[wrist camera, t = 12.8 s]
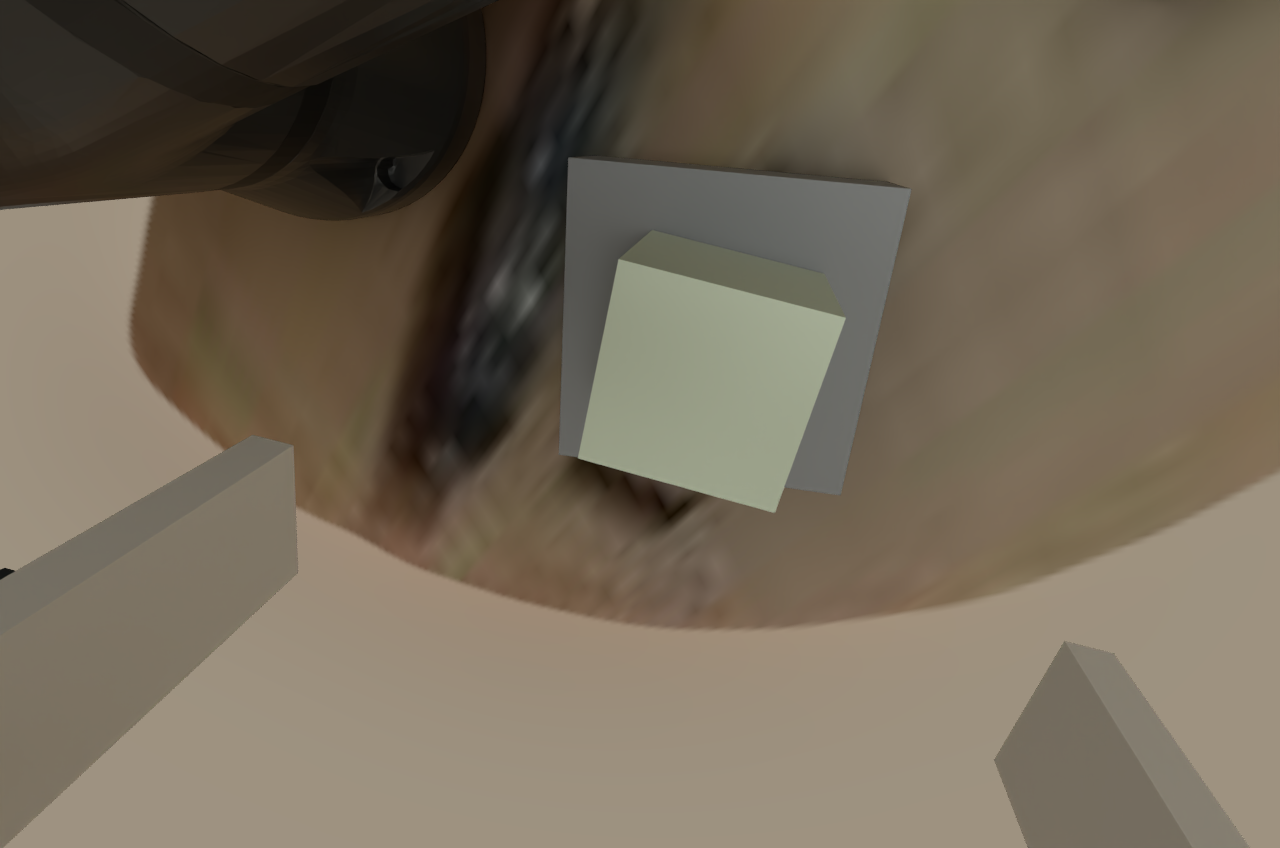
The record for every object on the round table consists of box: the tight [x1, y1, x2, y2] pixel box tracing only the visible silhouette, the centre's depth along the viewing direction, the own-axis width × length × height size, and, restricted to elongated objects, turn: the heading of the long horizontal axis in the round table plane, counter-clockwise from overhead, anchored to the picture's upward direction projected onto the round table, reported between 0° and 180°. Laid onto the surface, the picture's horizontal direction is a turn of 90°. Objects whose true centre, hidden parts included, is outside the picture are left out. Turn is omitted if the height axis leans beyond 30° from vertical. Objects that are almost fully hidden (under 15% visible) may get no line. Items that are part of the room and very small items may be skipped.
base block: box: [559, 155, 911, 495], centre depth 30 cm, size 13×13×5 cm
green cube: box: [578, 230, 846, 513], centre depth 24 cm, size 7×7×7 cm
